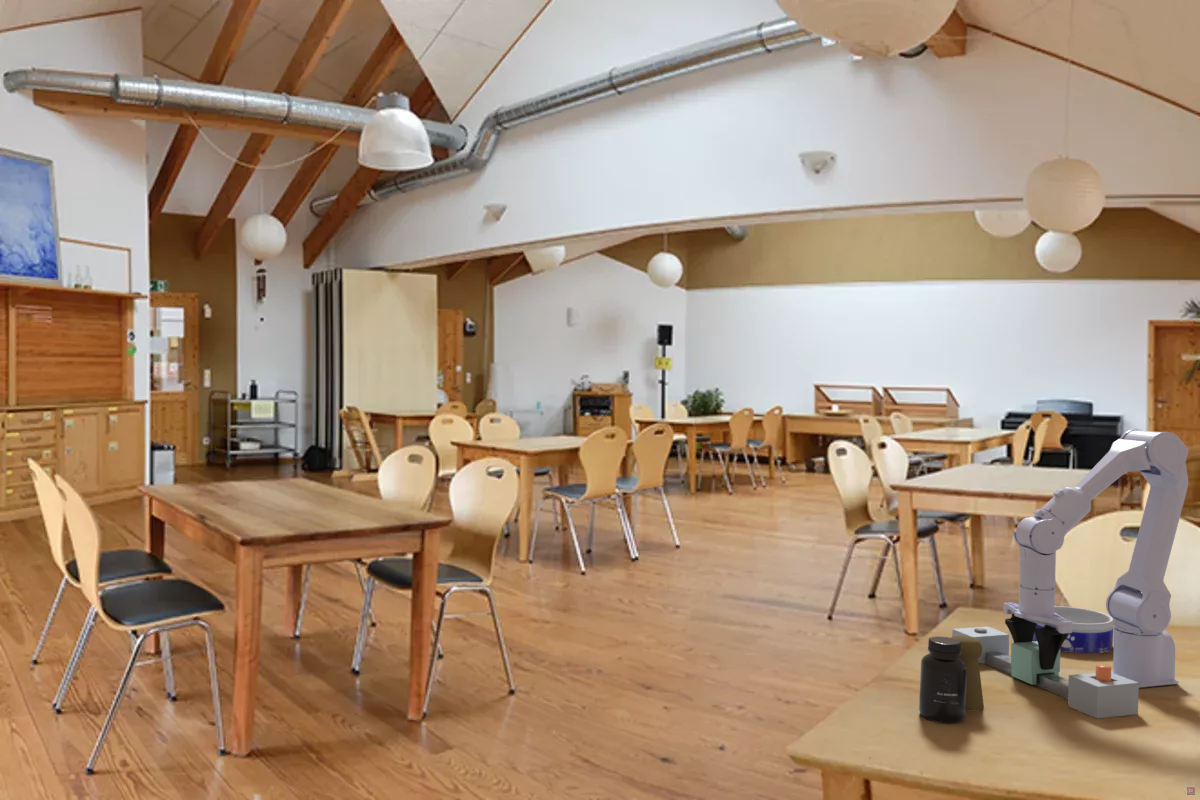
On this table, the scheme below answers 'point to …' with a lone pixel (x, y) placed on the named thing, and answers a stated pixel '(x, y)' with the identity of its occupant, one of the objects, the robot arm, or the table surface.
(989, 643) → the far cabinet
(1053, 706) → the table surface
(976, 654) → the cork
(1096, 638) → the dog bowl
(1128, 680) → the end cabinet
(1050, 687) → the rail
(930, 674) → the supplement bottle
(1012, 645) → the block
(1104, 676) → the orange rounded knob
